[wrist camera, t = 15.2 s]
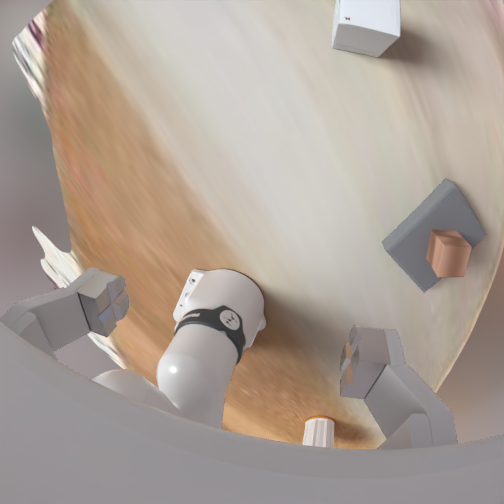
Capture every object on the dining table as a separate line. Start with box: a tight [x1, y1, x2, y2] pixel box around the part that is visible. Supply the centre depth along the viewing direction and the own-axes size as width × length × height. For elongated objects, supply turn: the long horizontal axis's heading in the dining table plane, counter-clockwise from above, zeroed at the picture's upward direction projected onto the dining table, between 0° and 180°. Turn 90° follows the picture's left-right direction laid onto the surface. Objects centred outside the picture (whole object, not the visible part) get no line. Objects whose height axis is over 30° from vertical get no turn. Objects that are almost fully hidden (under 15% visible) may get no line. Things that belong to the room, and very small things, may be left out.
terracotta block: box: [426, 229, 472, 277], centre depth 35 cm, size 5×5×6 cm
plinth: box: [382, 179, 486, 292], centre depth 40 cm, size 16×12×4 cm
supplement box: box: [332, 0, 401, 57], centre depth 25 cm, size 7×7×13 cm
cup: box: [302, 416, 334, 448], centre depth 65 cm, size 11×11×17 cm
